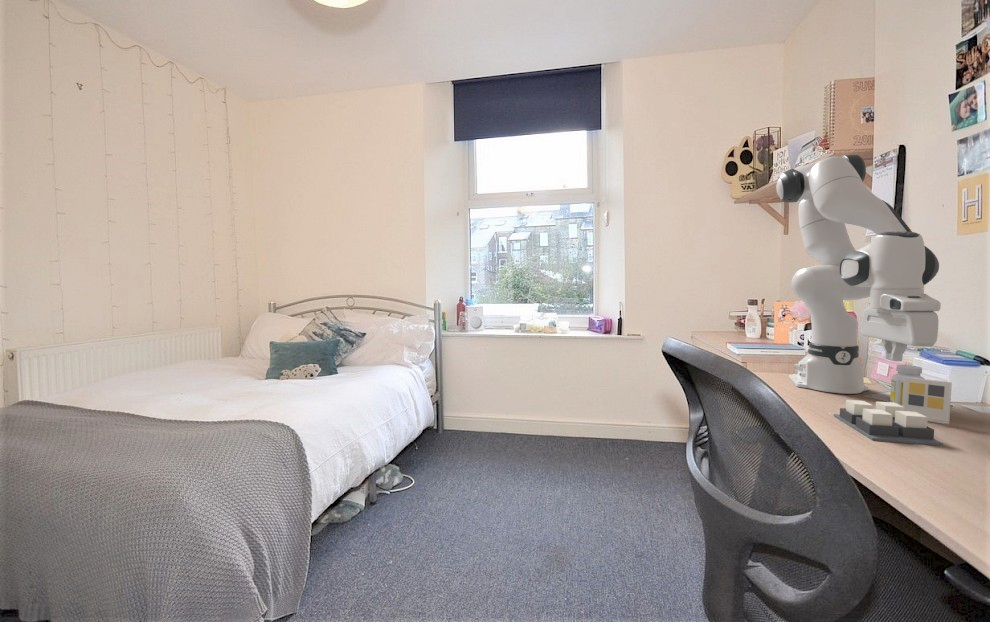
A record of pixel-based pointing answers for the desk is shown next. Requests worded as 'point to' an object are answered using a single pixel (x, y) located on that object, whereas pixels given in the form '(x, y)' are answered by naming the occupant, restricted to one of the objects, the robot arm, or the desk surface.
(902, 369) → the pill bottle
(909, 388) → the card
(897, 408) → the button
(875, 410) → the button
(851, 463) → the desk surface
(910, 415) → the button
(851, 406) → the button
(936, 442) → the button board
